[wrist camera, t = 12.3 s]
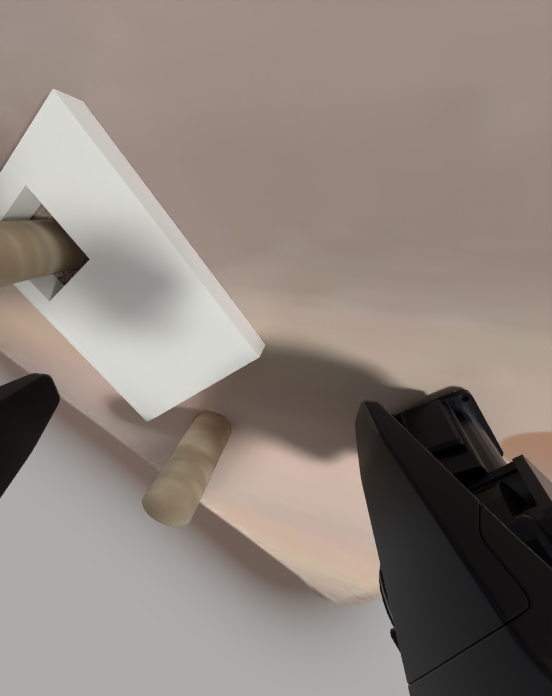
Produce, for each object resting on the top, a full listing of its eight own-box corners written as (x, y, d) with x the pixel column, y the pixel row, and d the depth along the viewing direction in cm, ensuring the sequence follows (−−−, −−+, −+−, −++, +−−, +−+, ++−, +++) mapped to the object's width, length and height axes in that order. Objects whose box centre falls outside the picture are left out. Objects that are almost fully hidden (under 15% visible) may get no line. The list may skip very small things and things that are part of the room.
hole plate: (265, 344, 22) (259, 357, 20) (160, 407, 26) (147, 422, 24) (82, 101, 17) (53, 88, 15) (-7, 230, 21) (-38, 232, 20)
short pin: (238, 433, 26) (201, 519, 19) (211, 446, 27) (167, 531, 20) (214, 405, 25) (166, 485, 18) (186, 420, 26) (132, 499, 19)
